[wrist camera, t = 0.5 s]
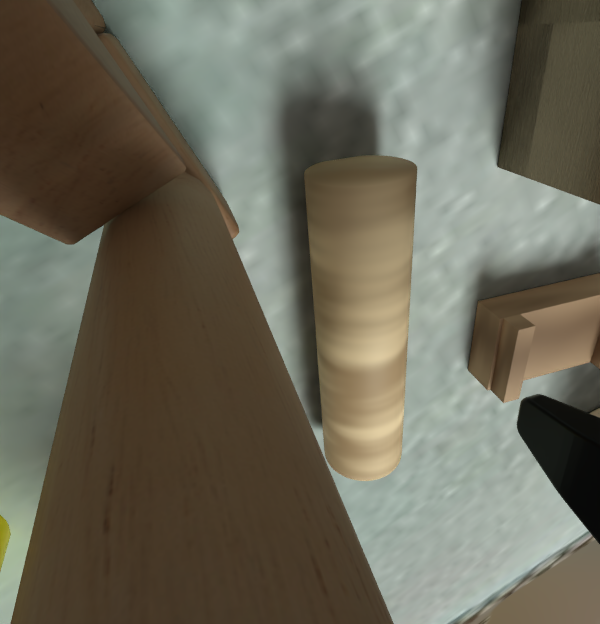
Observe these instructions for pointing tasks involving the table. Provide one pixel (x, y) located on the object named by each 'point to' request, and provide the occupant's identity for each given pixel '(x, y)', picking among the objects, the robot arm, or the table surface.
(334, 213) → the rod
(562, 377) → the table surface
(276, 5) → the table surface
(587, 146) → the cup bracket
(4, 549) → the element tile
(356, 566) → the brown post stand
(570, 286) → the block
